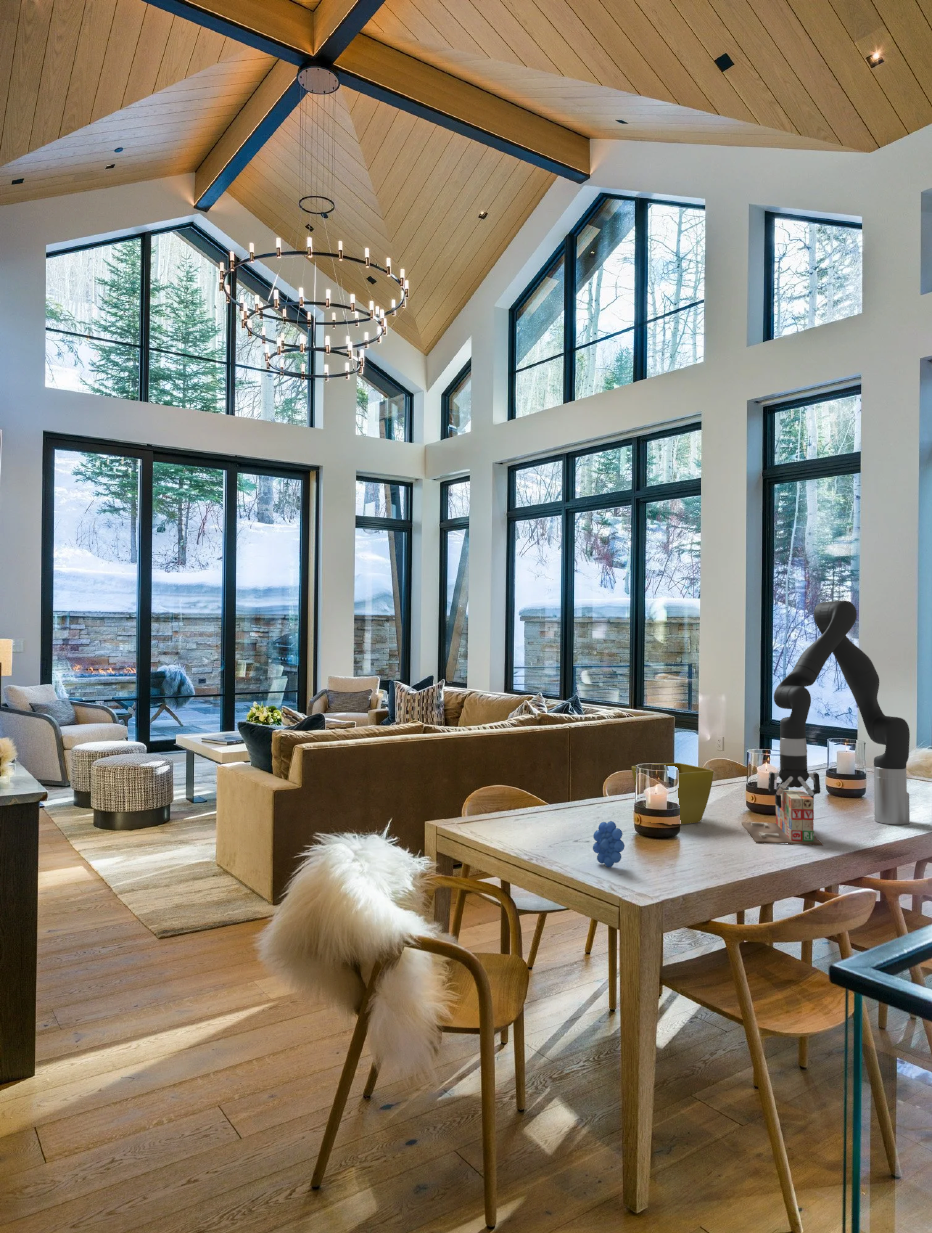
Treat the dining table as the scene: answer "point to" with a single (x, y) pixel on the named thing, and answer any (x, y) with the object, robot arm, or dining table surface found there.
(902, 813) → the robot arm
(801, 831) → the stack of blocks
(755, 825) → the board
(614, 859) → the grapes
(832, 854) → the dining table surface
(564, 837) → the dining table surface
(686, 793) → the flower pot
